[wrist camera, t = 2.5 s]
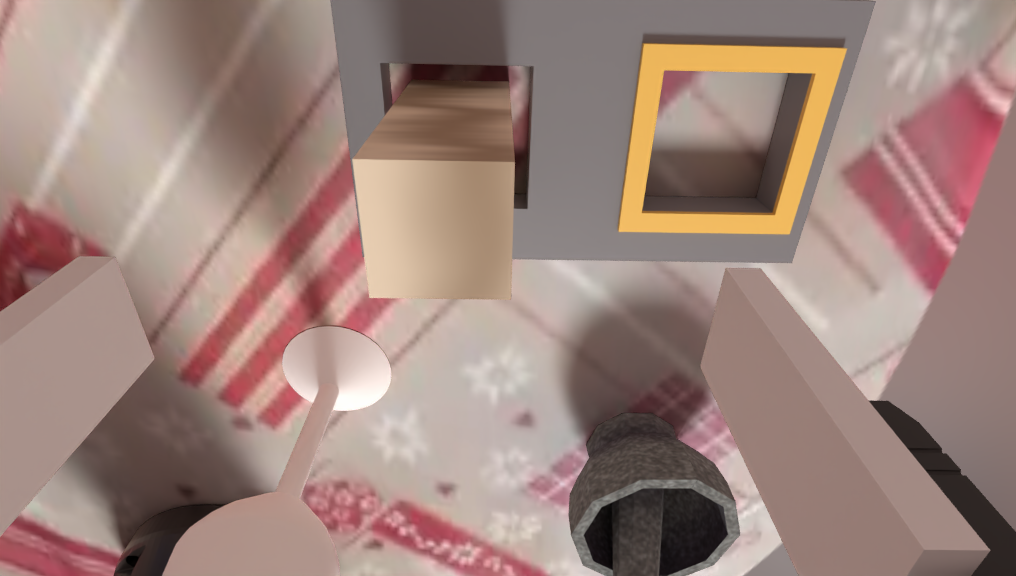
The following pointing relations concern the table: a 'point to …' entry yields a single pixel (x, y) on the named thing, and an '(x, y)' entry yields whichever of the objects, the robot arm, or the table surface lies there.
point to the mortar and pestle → (649, 502)
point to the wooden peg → (439, 193)
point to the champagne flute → (290, 471)
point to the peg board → (622, 109)
